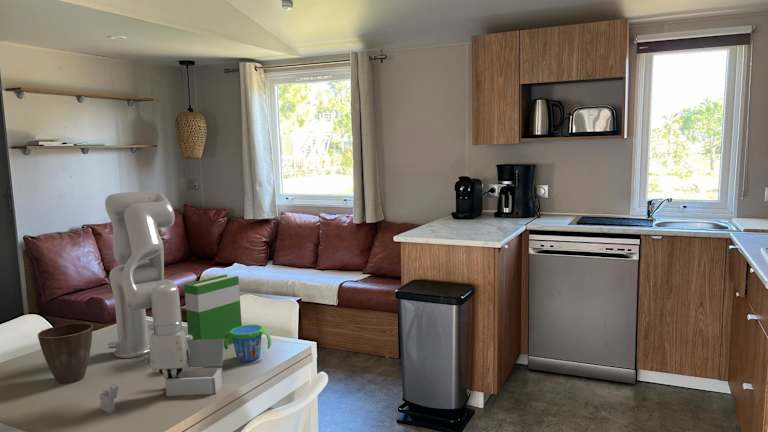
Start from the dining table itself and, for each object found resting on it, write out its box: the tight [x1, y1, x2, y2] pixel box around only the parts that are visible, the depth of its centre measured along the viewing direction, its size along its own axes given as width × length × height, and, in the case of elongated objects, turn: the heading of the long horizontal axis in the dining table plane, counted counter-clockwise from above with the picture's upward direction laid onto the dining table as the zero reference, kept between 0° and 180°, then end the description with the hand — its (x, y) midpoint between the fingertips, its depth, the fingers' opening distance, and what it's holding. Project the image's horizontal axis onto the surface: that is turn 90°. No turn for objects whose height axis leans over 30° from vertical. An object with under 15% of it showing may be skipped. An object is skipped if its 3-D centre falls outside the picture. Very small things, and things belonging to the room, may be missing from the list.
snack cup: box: [224, 324, 272, 363], centre depth 188 cm, size 16×10×10 cm
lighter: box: [99, 383, 120, 413], centre depth 152 cm, size 7×2×8 cm, turn 56°
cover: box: [187, 339, 225, 368], centre depth 170 cm, size 14×8×1 cm
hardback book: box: [183, 274, 243, 346], centre depth 202 cm, size 18×7×24 cm, turn 144°
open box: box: [164, 366, 224, 397], centre depth 164 cm, size 14×8×5 cm, turn 90°
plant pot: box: [37, 322, 94, 385], centre depth 175 cm, size 15×15×16 cm
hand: (173, 389), depth 163 cm, fingers closed
